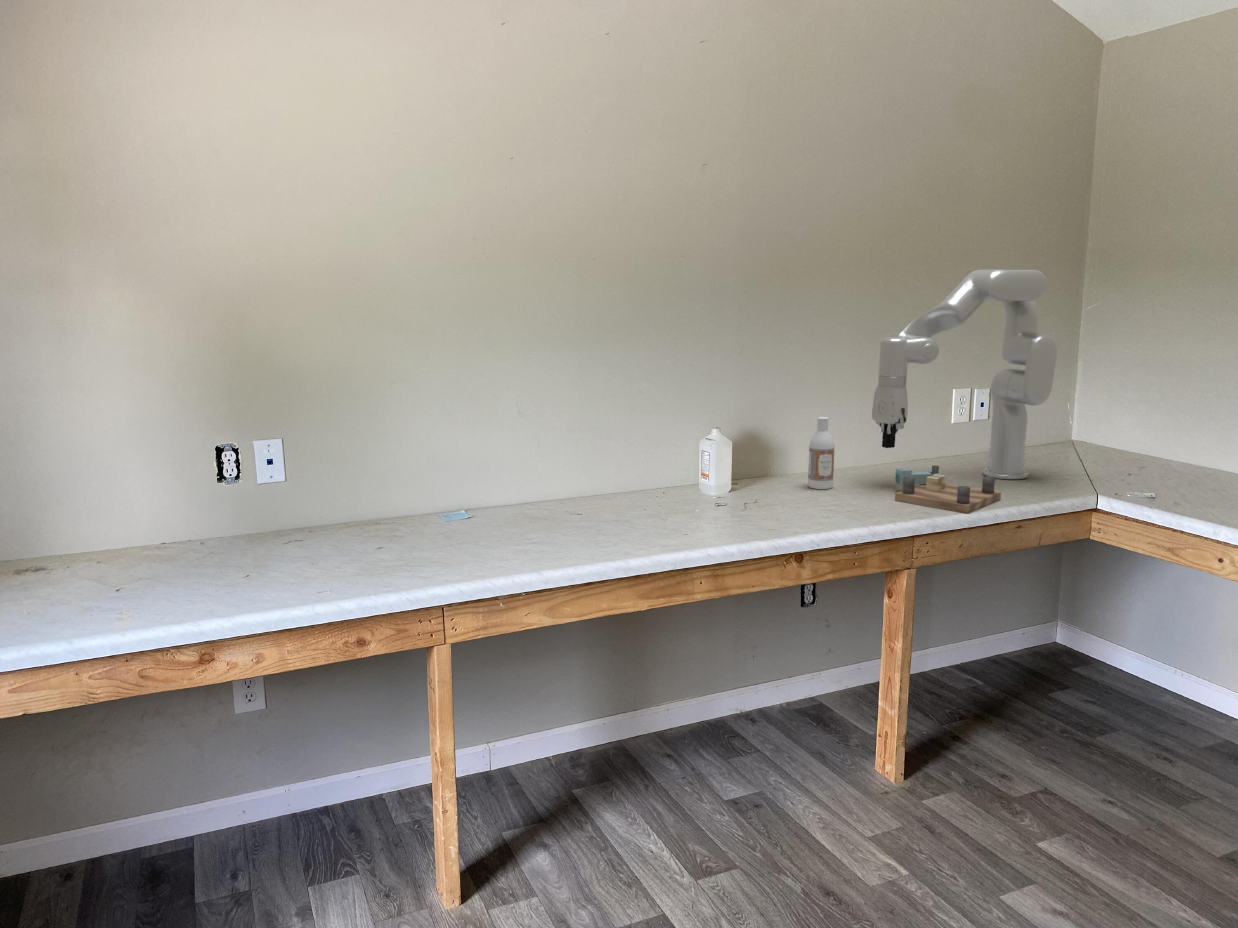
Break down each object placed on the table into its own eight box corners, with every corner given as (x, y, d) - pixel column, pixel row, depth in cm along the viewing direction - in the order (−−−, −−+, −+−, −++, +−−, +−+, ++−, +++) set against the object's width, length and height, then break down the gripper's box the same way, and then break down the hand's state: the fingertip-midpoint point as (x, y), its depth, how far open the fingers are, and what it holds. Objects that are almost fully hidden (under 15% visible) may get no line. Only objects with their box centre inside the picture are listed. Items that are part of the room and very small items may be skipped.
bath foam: (812, 490, 256) (815, 419, 252) (804, 484, 263) (806, 416, 258) (836, 489, 257) (839, 419, 253) (827, 483, 264) (830, 415, 259)
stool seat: (929, 487, 258) (931, 463, 256) (1000, 499, 244) (1002, 473, 243) (894, 500, 244) (896, 474, 242) (967, 513, 230) (969, 486, 229)
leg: (935, 480, 256) (936, 466, 255) (942, 484, 252) (943, 470, 251) (894, 481, 255) (895, 467, 254) (900, 485, 251) (901, 471, 250)
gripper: (864, 380, 259) (860, 443, 263) (899, 385, 245) (895, 452, 249) (885, 379, 262) (881, 442, 266) (921, 384, 248) (917, 450, 252)
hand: (888, 447), depth 257 cm, fingers closed
